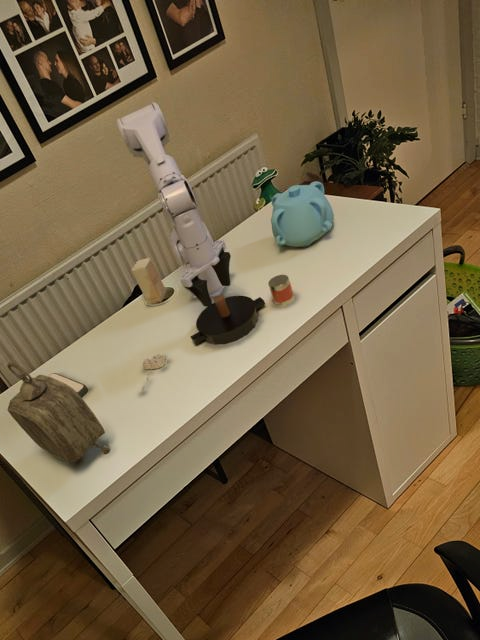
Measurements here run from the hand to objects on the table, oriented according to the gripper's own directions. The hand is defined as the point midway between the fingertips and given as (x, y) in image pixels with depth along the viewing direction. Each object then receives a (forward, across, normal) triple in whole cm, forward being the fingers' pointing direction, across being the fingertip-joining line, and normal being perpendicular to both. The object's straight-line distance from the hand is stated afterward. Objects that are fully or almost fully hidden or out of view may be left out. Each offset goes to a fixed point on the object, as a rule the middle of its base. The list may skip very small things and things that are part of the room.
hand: (217, 295), depth 122 cm
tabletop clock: (+9, -44, +10) cm, 46 cm away
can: (+9, +11, -9) cm, 17 cm away
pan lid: (+6, 0, 0) cm, 6 cm away
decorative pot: (+9, +39, 0) cm, 40 cm away
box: (+9, +8, +31) cm, 33 cm away
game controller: (+9, -19, +11) cm, 24 cm away
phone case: (+9, -31, +32) cm, 46 cm away
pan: (+9, 0, 0) cm, 9 cm away
